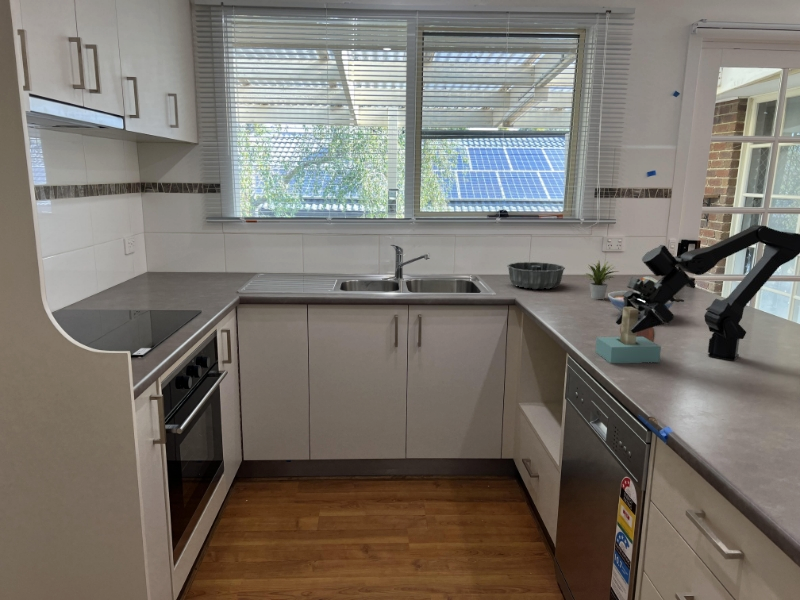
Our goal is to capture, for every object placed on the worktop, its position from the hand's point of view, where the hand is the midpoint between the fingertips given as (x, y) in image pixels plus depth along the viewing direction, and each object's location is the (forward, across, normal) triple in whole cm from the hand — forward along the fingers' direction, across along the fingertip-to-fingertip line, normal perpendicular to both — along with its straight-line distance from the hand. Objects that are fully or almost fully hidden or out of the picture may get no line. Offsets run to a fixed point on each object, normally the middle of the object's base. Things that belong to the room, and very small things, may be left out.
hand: (624, 327), depth 155 cm
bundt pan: (0, -110, +12) cm, 111 cm away
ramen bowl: (-14, -49, +27) cm, 57 cm away
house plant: (-12, -80, +25) cm, 84 cm away
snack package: (-32, -88, +45) cm, 104 cm away
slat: (+5, 0, +7) cm, 9 cm away
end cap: (+5, 0, +7) cm, 9 cm away
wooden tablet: (-4, -23, +17) cm, 29 cm away
